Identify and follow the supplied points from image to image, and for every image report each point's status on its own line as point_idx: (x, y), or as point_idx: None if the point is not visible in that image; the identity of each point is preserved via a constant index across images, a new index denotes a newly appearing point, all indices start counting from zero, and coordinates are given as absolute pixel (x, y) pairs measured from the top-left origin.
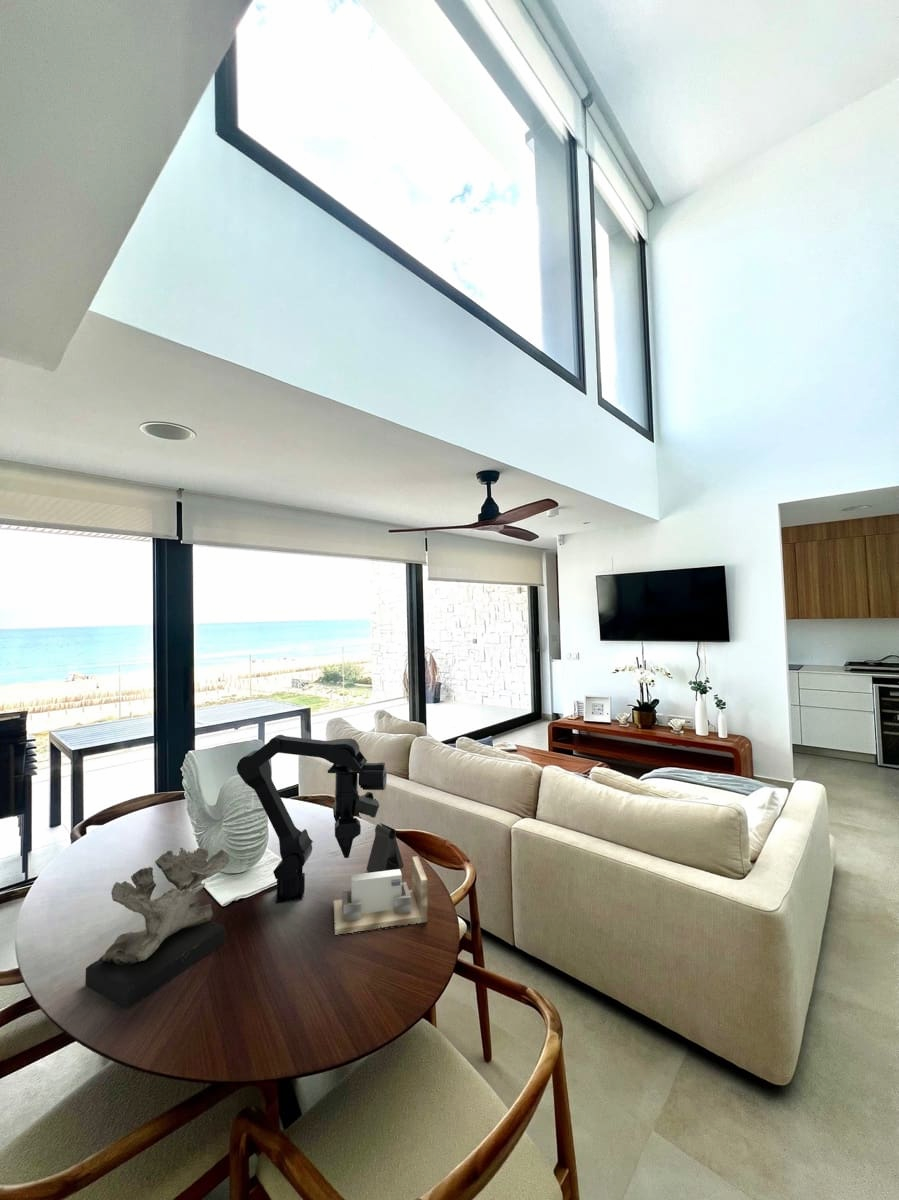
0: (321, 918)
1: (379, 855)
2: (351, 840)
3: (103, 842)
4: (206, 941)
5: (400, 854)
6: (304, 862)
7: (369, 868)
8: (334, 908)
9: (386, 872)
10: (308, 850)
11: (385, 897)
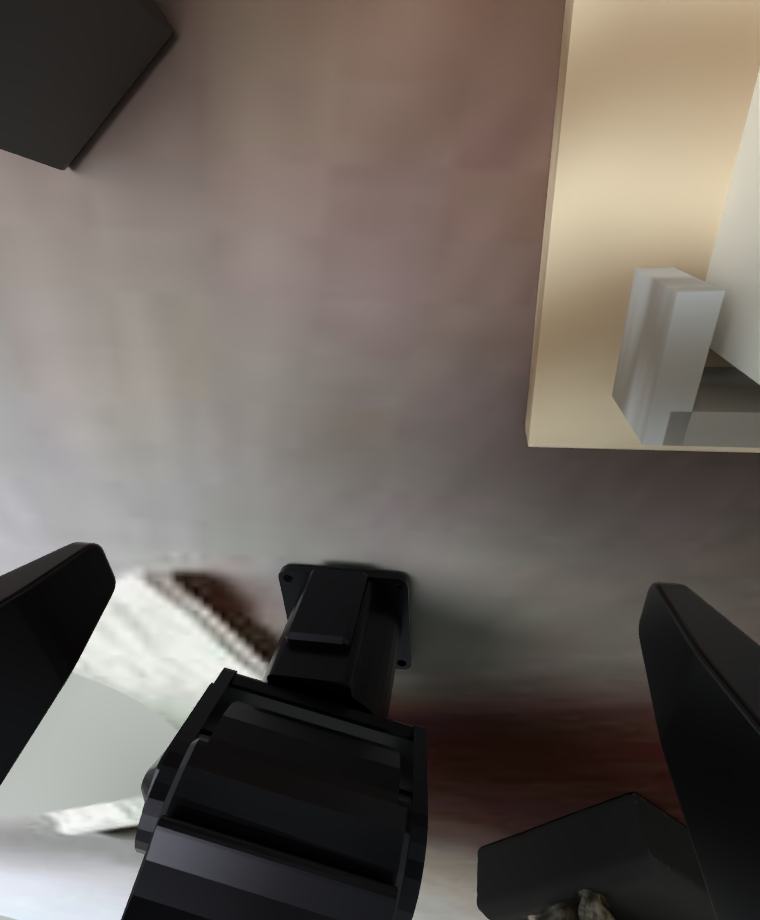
0: (629, 496)
1: None
2: None
3: (41, 912)
4: (705, 884)
5: None
6: (397, 786)
7: (65, 140)
8: (635, 446)
9: None
10: (277, 811)
11: None
